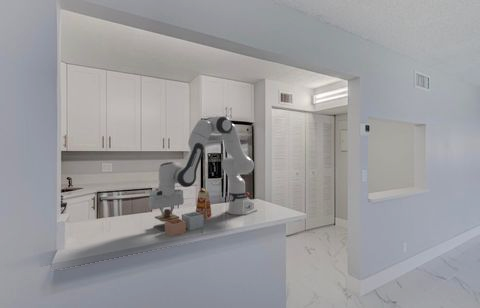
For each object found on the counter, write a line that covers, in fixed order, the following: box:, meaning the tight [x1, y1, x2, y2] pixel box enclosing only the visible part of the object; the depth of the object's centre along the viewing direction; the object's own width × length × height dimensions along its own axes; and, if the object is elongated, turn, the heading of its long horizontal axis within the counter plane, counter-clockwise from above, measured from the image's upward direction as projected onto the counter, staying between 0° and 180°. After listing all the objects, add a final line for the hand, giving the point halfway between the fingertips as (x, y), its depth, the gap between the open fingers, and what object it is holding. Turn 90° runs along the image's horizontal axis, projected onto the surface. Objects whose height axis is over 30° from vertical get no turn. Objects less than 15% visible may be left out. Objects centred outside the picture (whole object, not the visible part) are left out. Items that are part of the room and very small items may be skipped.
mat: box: [153, 222, 165, 232], centre depth 137 cm, size 11×11×1 cm
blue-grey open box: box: [181, 211, 204, 231], centre depth 137 cm, size 9×9×7 cm
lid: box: [154, 208, 180, 223], centre depth 136 cm, size 10×10×5 cm
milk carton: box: [195, 187, 213, 221], centre depth 155 cm, size 9×9×20 cm
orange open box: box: [164, 217, 187, 237], centre depth 128 cm, size 8×8×6 cm
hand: (166, 214), depth 136 cm, fingers closed on lid, 3 cm apart
